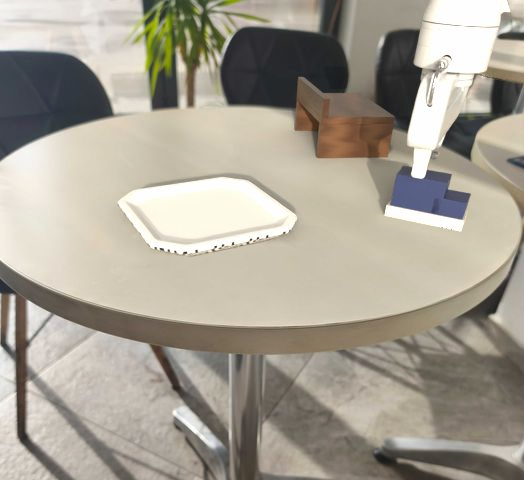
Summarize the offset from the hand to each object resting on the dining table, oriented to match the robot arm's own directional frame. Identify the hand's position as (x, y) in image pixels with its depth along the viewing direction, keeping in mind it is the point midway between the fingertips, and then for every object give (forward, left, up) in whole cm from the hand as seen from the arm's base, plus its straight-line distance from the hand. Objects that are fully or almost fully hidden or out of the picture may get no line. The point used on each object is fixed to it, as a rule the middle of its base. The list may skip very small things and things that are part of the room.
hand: (425, 166), depth 69 cm
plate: (+31, 0, -7) cm, 31 cm away
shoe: (-1, +1, -7) cm, 7 cm away
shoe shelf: (+1, -37, -7) cm, 38 cm away
